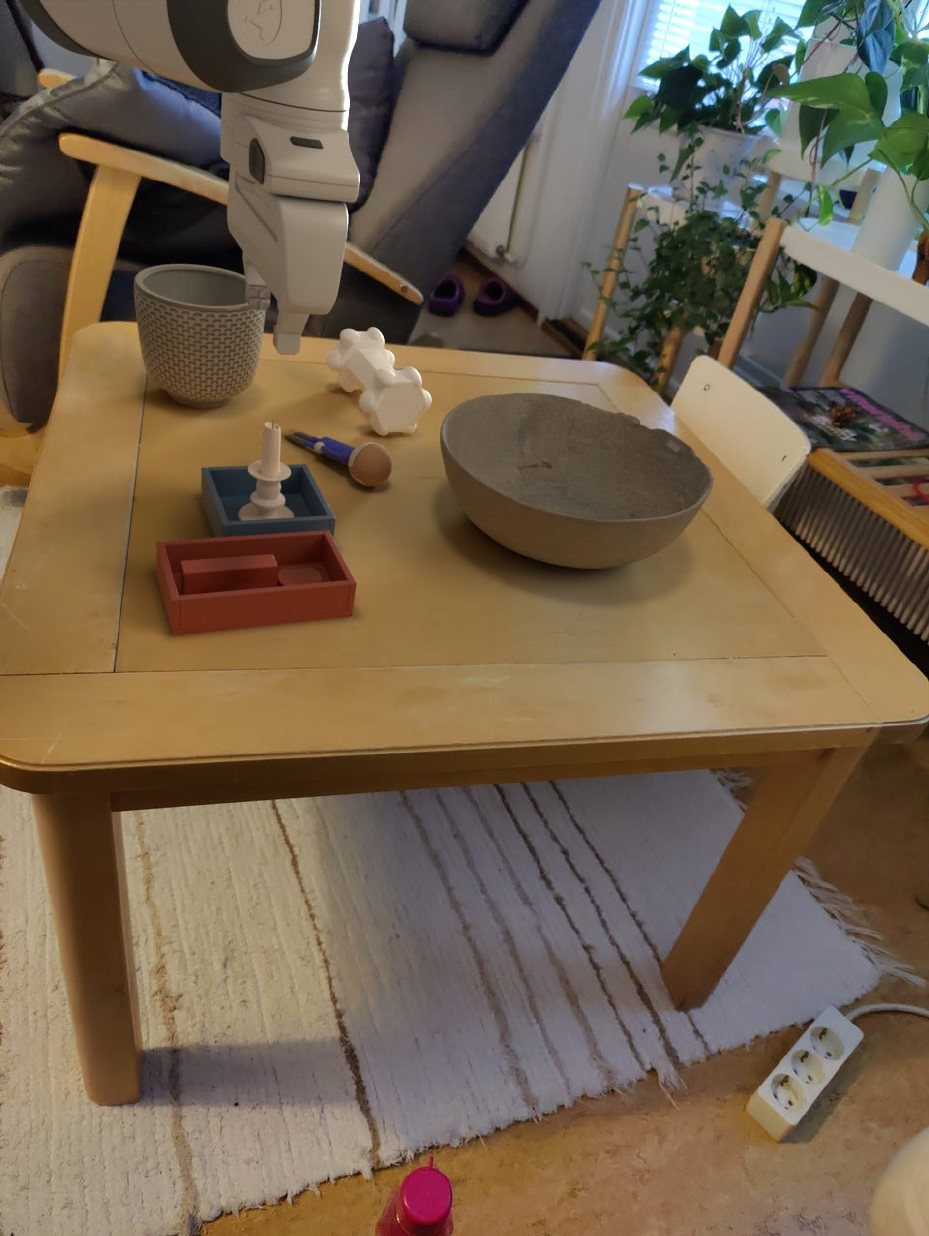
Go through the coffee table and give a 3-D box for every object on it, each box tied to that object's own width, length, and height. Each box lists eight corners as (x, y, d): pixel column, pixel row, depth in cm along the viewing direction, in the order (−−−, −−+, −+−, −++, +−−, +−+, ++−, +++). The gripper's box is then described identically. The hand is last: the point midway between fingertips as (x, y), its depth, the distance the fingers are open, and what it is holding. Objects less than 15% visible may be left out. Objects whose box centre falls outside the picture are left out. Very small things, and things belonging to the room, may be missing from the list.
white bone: (429, 438, 105) (440, 373, 100) (361, 440, 101) (370, 374, 96) (383, 384, 115) (392, 323, 110) (320, 385, 111) (326, 322, 106)
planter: (264, 427, 99) (270, 314, 91) (134, 419, 95) (129, 300, 87) (258, 376, 109) (263, 271, 102) (141, 367, 105) (136, 256, 98)
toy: (269, 450, 97) (366, 491, 89) (278, 409, 96) (377, 447, 88) (299, 453, 101) (395, 493, 93) (308, 414, 100) (406, 451, 92)
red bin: (172, 637, 68) (171, 600, 66) (156, 576, 74) (155, 541, 72) (352, 617, 75) (356, 583, 72) (325, 562, 80) (328, 529, 78)
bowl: (730, 569, 93) (766, 488, 87) (542, 636, 78) (571, 542, 72) (561, 450, 109) (582, 374, 103) (376, 486, 93) (389, 399, 87)
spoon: (186, 612, 70) (186, 580, 68) (178, 585, 73) (178, 553, 71) (326, 599, 75) (329, 568, 73) (314, 573, 78) (317, 543, 76)
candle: (286, 504, 86) (294, 406, 80) (300, 533, 82) (309, 433, 76) (233, 506, 84) (236, 406, 77) (244, 536, 80) (249, 433, 74)
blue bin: (222, 559, 78) (222, 525, 76) (201, 499, 85) (201, 467, 83) (332, 550, 82) (335, 518, 80) (303, 494, 89) (306, 463, 87)
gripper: (211, 104, 69) (206, 281, 77) (274, 171, 55) (261, 379, 63) (289, 116, 72) (277, 286, 80) (369, 183, 58) (344, 381, 66)
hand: (270, 328), depth 71 cm, fingers open, 8 cm apart
